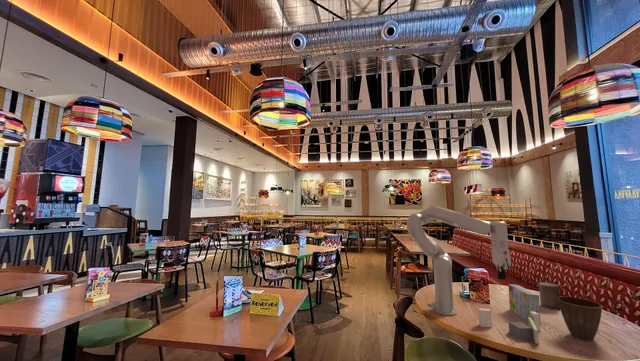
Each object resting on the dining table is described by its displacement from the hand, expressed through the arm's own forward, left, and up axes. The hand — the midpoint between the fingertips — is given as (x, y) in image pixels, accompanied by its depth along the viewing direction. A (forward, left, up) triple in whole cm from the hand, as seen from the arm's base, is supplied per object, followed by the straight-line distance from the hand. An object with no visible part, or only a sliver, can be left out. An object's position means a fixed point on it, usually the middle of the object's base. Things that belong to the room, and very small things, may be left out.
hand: (501, 278), depth 140 cm
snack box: (+15, +10, -22) cm, 29 cm away
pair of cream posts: (-2, -7, -22) cm, 23 cm away
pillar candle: (+41, +30, -22) cm, 56 cm away
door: (+5, -15, -22) cm, 27 cm away
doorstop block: (-1, -15, -22) cm, 27 cm away
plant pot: (+27, -12, -22) cm, 37 cm away
